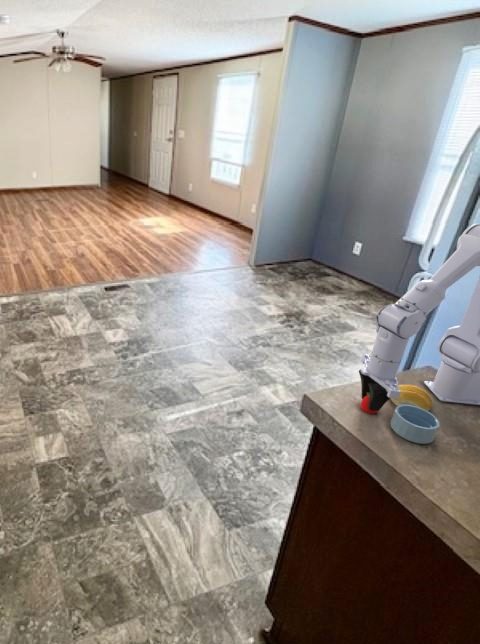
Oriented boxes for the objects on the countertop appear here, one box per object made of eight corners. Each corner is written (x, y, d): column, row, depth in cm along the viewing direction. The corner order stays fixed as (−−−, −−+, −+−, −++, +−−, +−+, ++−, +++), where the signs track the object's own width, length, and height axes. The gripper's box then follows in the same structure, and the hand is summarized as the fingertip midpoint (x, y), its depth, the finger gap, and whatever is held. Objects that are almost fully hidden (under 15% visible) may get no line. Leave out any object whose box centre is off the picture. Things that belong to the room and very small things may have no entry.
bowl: (420, 422, 97) (426, 406, 96) (440, 447, 90) (448, 431, 88) (383, 418, 99) (388, 402, 97) (400, 443, 91) (406, 426, 89)
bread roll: (431, 401, 104) (437, 388, 103) (426, 419, 98) (431, 405, 97) (393, 387, 110) (397, 374, 108) (385, 403, 104) (390, 389, 102)
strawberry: (372, 405, 103) (377, 391, 101) (379, 414, 100) (384, 400, 98) (358, 403, 103) (362, 390, 102) (363, 412, 100) (368, 399, 99)
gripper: (354, 338, 103) (340, 384, 108) (382, 372, 90) (364, 422, 95) (385, 340, 102) (370, 387, 107) (418, 375, 89) (398, 426, 94)
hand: (370, 404), depth 101 cm, fingers closed on strawberry, 3 cm apart
